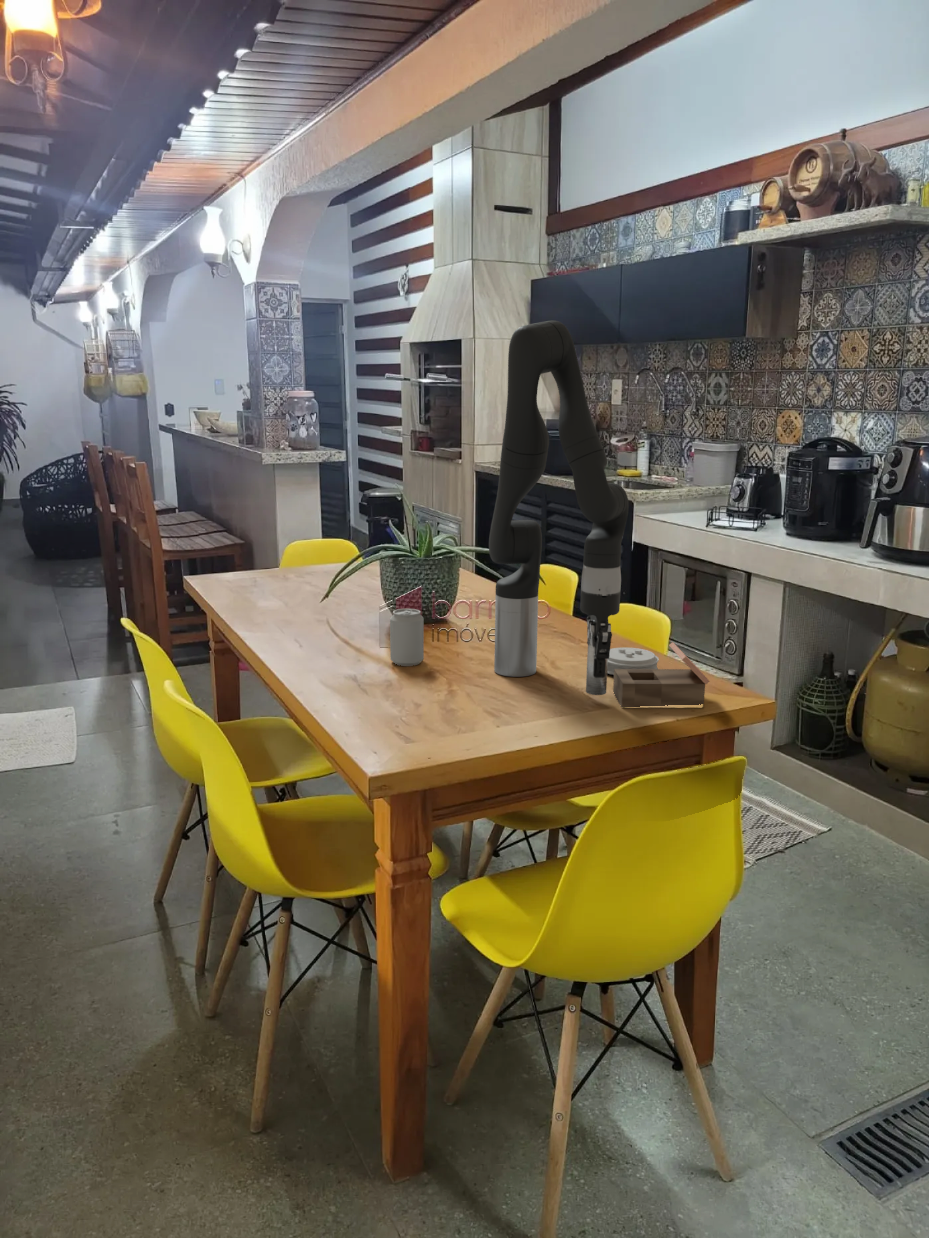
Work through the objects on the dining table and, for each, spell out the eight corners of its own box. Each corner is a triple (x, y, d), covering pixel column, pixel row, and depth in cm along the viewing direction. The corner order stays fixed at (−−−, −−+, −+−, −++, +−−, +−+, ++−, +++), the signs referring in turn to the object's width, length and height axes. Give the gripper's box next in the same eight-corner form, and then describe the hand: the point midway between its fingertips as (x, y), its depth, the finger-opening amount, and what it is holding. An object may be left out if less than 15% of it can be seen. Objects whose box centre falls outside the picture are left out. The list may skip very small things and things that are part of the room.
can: (385, 665, 215) (384, 612, 212) (398, 656, 222) (398, 606, 219) (415, 668, 213) (415, 615, 210) (428, 659, 219) (428, 608, 217)
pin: (584, 688, 192) (586, 635, 189) (604, 688, 192) (606, 635, 189) (587, 695, 188) (590, 641, 185) (607, 695, 188) (610, 641, 185)
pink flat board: (668, 645, 195) (672, 641, 195) (691, 668, 196) (695, 665, 196) (681, 659, 184) (685, 656, 184) (705, 684, 186) (709, 681, 186)
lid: (669, 673, 212) (670, 651, 210) (635, 685, 203) (637, 662, 202) (621, 661, 220) (622, 640, 219) (587, 672, 211) (588, 650, 210)
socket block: (613, 692, 197) (614, 669, 196) (690, 692, 197) (692, 669, 196) (621, 708, 187) (622, 683, 186) (703, 708, 187) (705, 683, 186)
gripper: (575, 580, 191) (572, 663, 196) (587, 596, 178) (583, 685, 182) (612, 580, 192) (609, 663, 196) (627, 596, 178) (623, 684, 182)
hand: (596, 673), depth 189 cm, fingers closed on pin, 4 cm apart
